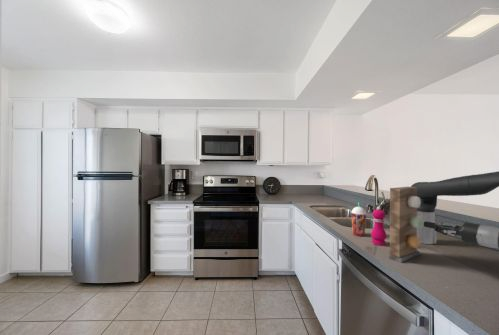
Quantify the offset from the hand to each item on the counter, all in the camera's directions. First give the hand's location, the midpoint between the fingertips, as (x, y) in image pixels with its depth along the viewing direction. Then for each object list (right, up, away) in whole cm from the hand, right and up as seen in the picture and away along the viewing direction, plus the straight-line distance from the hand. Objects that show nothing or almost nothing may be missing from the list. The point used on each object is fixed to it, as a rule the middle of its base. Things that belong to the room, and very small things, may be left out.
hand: (424, 223), depth 93 cm
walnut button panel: (-4, -17, +7) cm, 19 cm away
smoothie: (-9, -17, +38) cm, 43 cm away
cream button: (-2, +7, +3) cm, 8 cm away
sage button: (-1, -2, +2) cm, 4 cm away
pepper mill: (-6, -17, +23) cm, 29 cm away
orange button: (-2, -11, +4) cm, 12 cm away
